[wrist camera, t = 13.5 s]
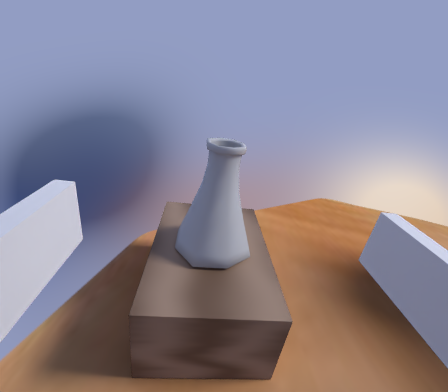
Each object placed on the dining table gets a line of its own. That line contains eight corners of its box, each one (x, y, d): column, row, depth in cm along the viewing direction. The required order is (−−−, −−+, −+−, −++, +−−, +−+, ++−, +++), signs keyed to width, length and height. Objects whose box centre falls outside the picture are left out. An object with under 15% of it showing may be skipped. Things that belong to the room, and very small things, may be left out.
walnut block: (244, 252, 34) (253, 209, 31) (270, 379, 20) (292, 321, 17) (165, 247, 33) (166, 201, 30) (132, 377, 18) (128, 315, 15)
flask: (167, 228, 25) (171, 129, 20) (230, 221, 28) (246, 134, 23) (184, 279, 19) (194, 156, 15) (263, 264, 22) (291, 157, 17)
